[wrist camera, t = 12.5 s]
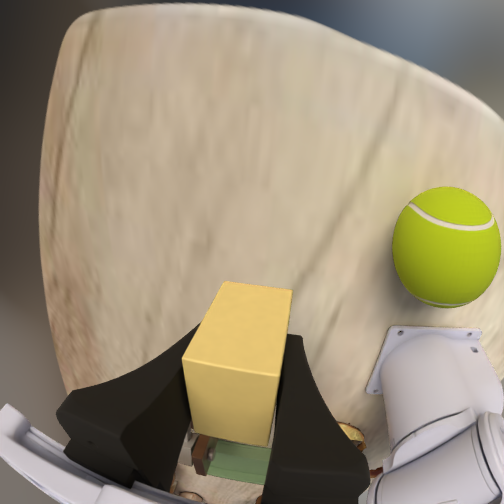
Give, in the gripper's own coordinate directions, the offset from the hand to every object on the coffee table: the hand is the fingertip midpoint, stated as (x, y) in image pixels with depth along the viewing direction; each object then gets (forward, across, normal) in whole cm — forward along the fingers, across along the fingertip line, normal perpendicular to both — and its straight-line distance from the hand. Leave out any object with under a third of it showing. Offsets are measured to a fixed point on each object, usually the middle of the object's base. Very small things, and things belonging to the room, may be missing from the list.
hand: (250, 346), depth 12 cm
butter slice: (+1, 0, 0) cm, 1 cm away
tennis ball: (+10, -10, -4) cm, 15 cm away
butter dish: (+9, +2, +31) cm, 32 cm away
